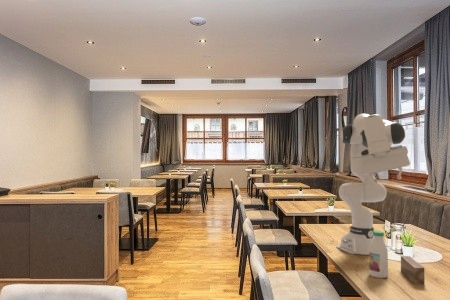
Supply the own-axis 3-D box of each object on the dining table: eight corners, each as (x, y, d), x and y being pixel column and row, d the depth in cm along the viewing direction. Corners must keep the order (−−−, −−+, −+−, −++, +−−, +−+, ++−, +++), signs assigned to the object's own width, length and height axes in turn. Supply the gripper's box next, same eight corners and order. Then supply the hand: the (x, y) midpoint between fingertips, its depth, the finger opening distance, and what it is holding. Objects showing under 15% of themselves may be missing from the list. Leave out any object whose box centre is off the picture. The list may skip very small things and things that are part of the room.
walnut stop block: (414, 284, 157) (414, 267, 157) (400, 270, 175) (400, 255, 175) (424, 284, 156) (424, 268, 156) (409, 271, 174) (409, 256, 174)
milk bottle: (383, 272, 172) (382, 229, 172) (391, 278, 164) (390, 233, 164) (366, 273, 171) (366, 230, 171) (373, 278, 164) (373, 233, 164)
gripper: (406, 145, 157) (414, 176, 154) (357, 156, 166) (364, 186, 163) (405, 142, 152) (414, 175, 148) (354, 154, 161) (361, 185, 157)
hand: (387, 181), depth 156 cm, fingers open, 8 cm apart
